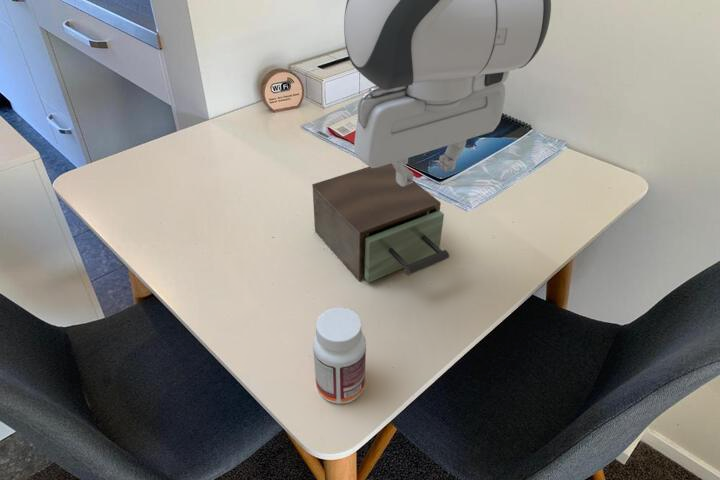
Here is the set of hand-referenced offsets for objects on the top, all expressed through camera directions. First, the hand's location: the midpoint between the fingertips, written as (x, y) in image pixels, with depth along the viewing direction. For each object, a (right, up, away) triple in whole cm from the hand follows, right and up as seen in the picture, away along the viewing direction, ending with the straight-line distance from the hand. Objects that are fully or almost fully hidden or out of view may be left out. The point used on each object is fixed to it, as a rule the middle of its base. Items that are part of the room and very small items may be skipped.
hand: (425, 176), depth 68 cm
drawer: (-4, -10, +16) cm, 19 cm away
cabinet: (-6, -8, +20) cm, 22 cm away
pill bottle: (-11, -27, -3) cm, 29 cm away
